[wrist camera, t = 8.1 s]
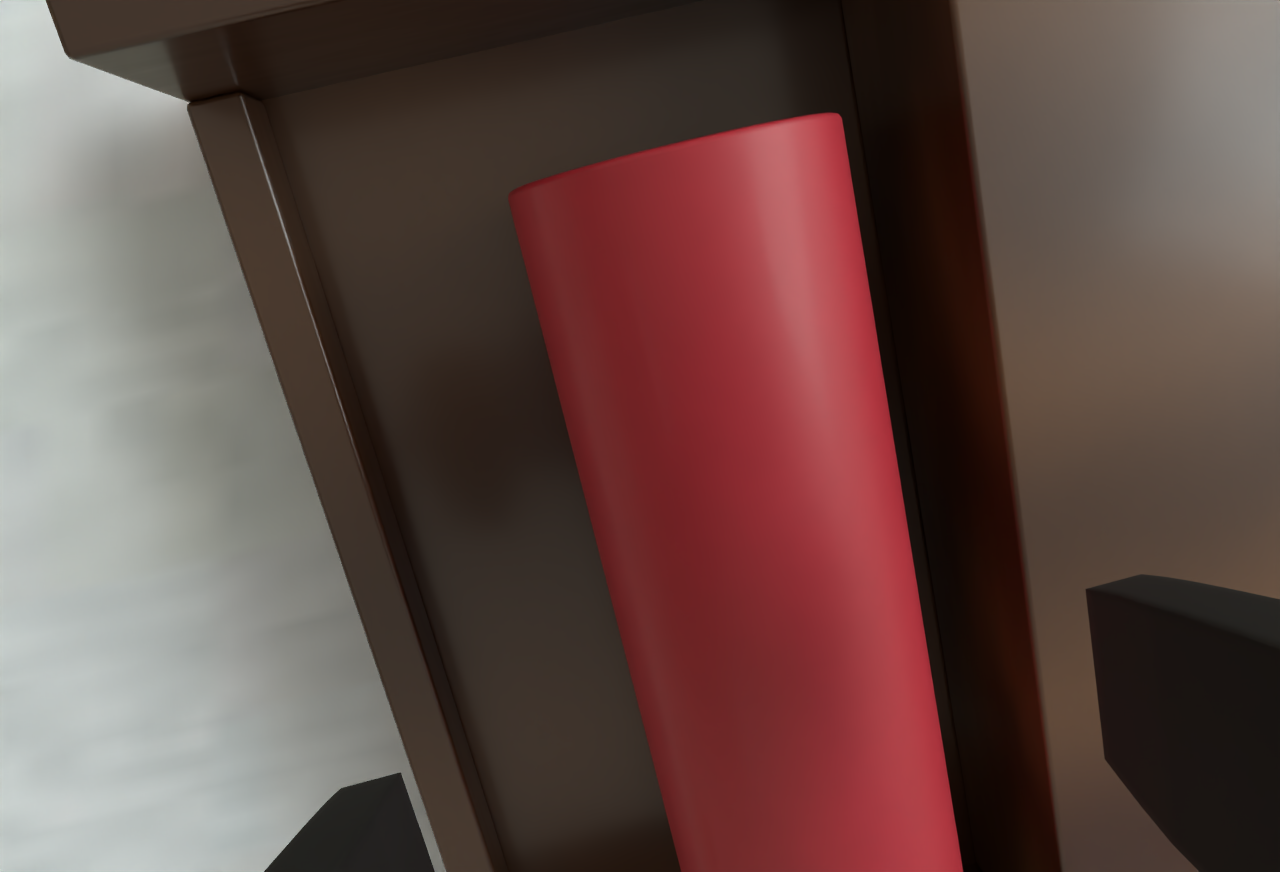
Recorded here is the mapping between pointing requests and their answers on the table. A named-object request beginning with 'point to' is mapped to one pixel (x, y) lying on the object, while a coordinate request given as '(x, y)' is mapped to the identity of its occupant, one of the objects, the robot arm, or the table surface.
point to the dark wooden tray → (905, 325)
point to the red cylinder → (747, 495)
